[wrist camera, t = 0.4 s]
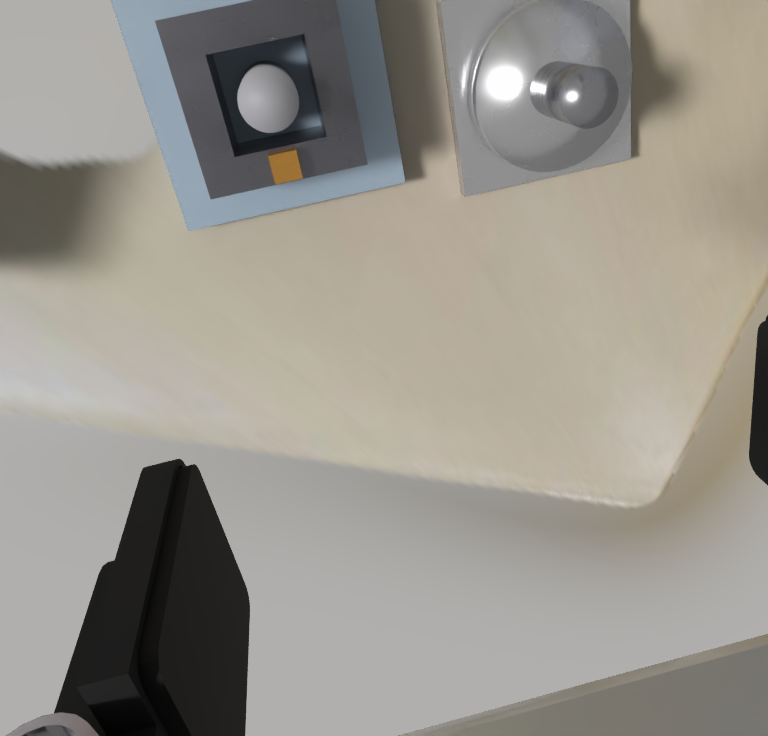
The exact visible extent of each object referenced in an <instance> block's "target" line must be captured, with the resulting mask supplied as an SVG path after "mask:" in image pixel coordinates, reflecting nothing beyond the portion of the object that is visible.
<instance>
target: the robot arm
mask: <svg viewBox="0 0 768 736" xmlns="http://www.w3.org/2000/svg"><path fill="white" fill-rule="evenodd" d="M751 420H752V421H751V434H750V449H749V459H750V463H751V466H752V468H753V470H754V472H755V473H756V475H757V476H758V477H759V478H760V479H762V480H763V481H764V482H765V483H766V484H767V485H768V316H767V317H766V321H764V322H762V323H761V324H760V326H759V328H758V334H757V349H756V363H755V378H754V392H753V405H752V419H751ZM249 618H250V603H249V596H248V592H247V588H246V585H245V583H244V580H243V578H242V575H241V573H240V570H239V568H238V565H237V563H236V560H235V558H234V555H233V553H232V550H231V548H230V545H229V543H228V540H227V538H226V536H225V533H224V530H223V528H222V525H221V523H220V521H219V518H218V515H217V513H216V510H215V508H214V505H213V503H212V501H211V498H210V496H209V493H208V491H207V488H206V486H205V483H204V481H203V478H202V476H201V473H200V471H199V469H198V467H197V466H196V465H195V464H193V465H189V466H186V465H185V464H184V462H183V461H182V460H181V459H176V460H172V461H168V462H164V463H160V464H156V465H152V466H148V467H145V468H143V470H142V472H141V474H140V478H139V481H138V484H137V488H136V491H135V494H134V498H133V501H132V504H131V508H130V511H129V515H128V518H127V521H126V525H125V528H124V531H123V534H122V538H121V541H120V544H119V548H118V551H117V554H116V558H115V561H111V562H108V563H106V564H105V565H104V566H103V567H102V569H101V571H100V573H99V575H98V578H97V582H96V585H95V588H94V591H93V594H92V597H91V600H90V603H89V606H88V610H87V613H86V616H85V619H84V622H83V625H82V628H81V631H80V634H79V637H78V640H77V644H76V647H75V650H74V653H73V656H72V659H71V662H70V665H69V669H68V671H67V675H66V678H65V681H64V684H63V687H62V690H61V693H60V696H59V700H58V702H57V706H56V709H55V712H54V714H50V715H44V716H41V717H38V718H36V719H34V720H32V721H30V722H27V723H25V724H23V725H21V726H19V727H18V728H17V729H15V730H14V731H12V732H11V733H9V734H8V735H6V736H245V723H246V698H247V671H248V646H249V620H250V619H249ZM399 736H768V634H766V635H762V636H758V637H755V638H751V639H747V640H744V641H740V642H736V643H733V644H729V645H725V646H722V647H718V648H715V649H711V650H707V651H703V652H699V653H696V654H692V655H689V656H685V657H681V658H677V659H674V660H670V661H667V662H663V663H659V664H655V665H652V666H648V667H645V668H641V669H638V670H634V671H630V672H626V673H623V674H619V675H616V676H612V677H608V678H605V679H601V680H597V681H593V682H590V683H586V684H582V685H579V686H575V687H572V688H568V689H564V690H561V691H557V692H554V693H550V694H547V695H543V696H539V697H536V698H532V699H529V700H525V701H522V702H518V703H514V704H511V705H507V706H504V707H500V708H497V709H493V710H489V711H485V712H482V713H479V714H475V715H471V716H467V717H464V718H460V719H457V720H453V721H450V722H446V723H442V724H439V725H435V726H431V727H428V728H424V729H421V730H417V731H414V732H410V733H406V734H403V735H399Z"/></svg>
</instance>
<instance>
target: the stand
mask: <svg viewBox="0 0 768 736" xmlns="http://www.w3.org/2000/svg"><path fill="white" fill-rule="evenodd" d="M246 1H251V0H111V3H112V6H113V9H114V12H115V15H116V18H117V21H118V24H119V27H120V30H121V33H122V36H123V39H124V42H125V45H126V47H127V51H128V53H129V56H130V59H131V62H132V65H133V68H134V71H135V74H136V77H137V80H138V83H139V86H140V89H141V92H142V95H143V98H144V101H145V104H146V107H147V110H148V113H149V116H150V119H151V122H152V125H153V128H154V131H155V134H156V137H157V140H158V143H159V146H160V149H161V152H162V154H163V157H164V160H165V163H166V166H167V169H168V172H169V175H170V178H171V181H172V184H173V187H174V190H175V193H176V196H177V199H178V202H179V205H180V208H181V211H182V214H183V217H184V220H185V223H186V226H187V229H188V231H192V230H196V229H201V228H205V227H210V226H214V225H219V224H223V223H227V222H232V221H236V220H241V219H245V218H250V217H254V216H258V215H263V214H267V213H272V212H276V211H281V210H285V209H290V208H294V207H298V206H303V205H307V204H312V203H316V202H321V201H325V200H329V199H334V198H338V197H343V196H347V195H352V194H356V193H360V192H365V191H369V190H374V189H378V188H383V187H387V186H391V185H396V184H400V183H405V177H404V171H403V165H402V159H401V153H400V147H399V141H398V135H397V130H396V124H395V118H394V112H393V106H392V100H391V94H390V88H389V82H388V76H387V70H386V64H385V58H384V52H383V46H382V40H381V34H380V28H379V22H378V16H377V10H376V4H375V0H336V1H337V7H338V12H339V17H340V22H341V27H342V33H343V38H344V43H345V48H346V53H347V59H348V64H349V69H350V74H351V79H352V85H353V90H354V95H355V100H356V105H357V111H358V116H359V121H360V126H361V131H362V137H363V142H364V147H365V152H366V157H367V163H368V165H363V166H359V167H354V168H350V169H345V170H341V171H336V172H332V173H327V174H323V175H319V176H314V177H310V178H305V179H301V180H296V181H292V182H287V183H283V184H278V185H274V186H269V187H265V188H260V189H256V190H251V191H247V192H243V193H238V194H234V195H229V196H225V197H220V198H216V199H210V196H209V193H208V190H207V186H206V183H205V180H204V177H203V174H202V170H201V167H200V164H199V161H198V158H197V154H196V151H195V148H194V145H193V142H192V138H191V135H190V132H189V129H188V126H187V122H186V119H185V116H184V113H183V110H182V106H181V103H180V100H179V97H178V94H177V90H176V87H175V84H174V81H173V78H172V74H171V71H170V68H169V65H168V62H167V58H166V55H165V52H164V49H163V46H162V42H161V39H160V36H159V33H158V30H157V26H156V23H155V21H156V20H161V19H166V18H170V17H175V16H180V15H185V14H189V13H194V12H199V11H204V10H208V9H213V8H218V7H223V6H227V5H232V4H237V3H242V2H246ZM213 57H214V60H215V64H216V67H217V71H218V75H219V78H220V82H221V85H222V89H223V92H224V96H225V99H226V103H227V107H228V110H229V114H230V117H231V121H232V124H233V128H234V131H235V135H236V139H237V142H238V143H242V142H247V141H251V140H256V139H260V138H265V137H269V136H274V135H278V134H283V133H288V132H292V131H297V130H301V129H306V128H310V127H315V126H319V125H321V122H320V118H319V113H318V109H317V104H316V100H315V95H314V91H313V86H312V81H311V77H310V72H309V68H308V63H307V59H306V54H305V50H304V45H303V40H302V36H301V35H297V36H292V37H287V38H282V39H278V40H273V41H268V42H264V43H259V44H254V45H250V46H245V47H240V48H236V49H231V50H226V51H222V52H217V53H213Z"/></svg>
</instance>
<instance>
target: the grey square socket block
mask: <svg viewBox="0 0 768 736" xmlns="http://www.w3.org/2000/svg"><path fill="white" fill-rule="evenodd" d="M155 23H156V26H157V30H158V33H159V36H160V39H161V42H162V46H163V49H164V52H165V55H166V58H167V62H168V65H169V68H170V71H171V74H172V78H173V81H174V84H175V87H176V90H177V94H178V97H179V100H180V103H181V106H182V110H183V113H184V116H185V119H186V122H187V126H188V129H189V132H190V135H191V138H192V142H193V145H194V148H195V151H196V154H197V158H198V161H199V164H200V167H201V170H202V174H203V177H204V180H205V183H206V186H207V190H208V193H209V196H210V199H216V198H220V197H225V196H229V195H234V194H238V193H243V192H247V191H251V190H256V189H260V188H265V187H269V186H274V185H278V184H283V183H287V182H292V181H296V180H301V179H305V178H310V177H314V176H319V175H323V174H327V173H332V172H336V171H341V170H345V169H350V168H354V167H359V166H363V165H368V163H367V157H366V152H365V147H364V142H363V137H362V131H361V126H360V121H359V116H358V111H357V105H356V100H355V95H354V90H353V85H352V79H351V74H350V69H349V64H348V59H347V53H346V48H345V43H344V38H343V33H342V27H341V22H340V17H339V12H338V7H337V1H336V0H251V1H246V2H242V3H237V4H232V5H227V6H223V7H218V8H213V9H208V10H204V11H199V12H194V13H189V14H185V15H180V16H175V17H170V18H166V19H161V20H156V21H155ZM297 35H301V36H302V40H303V45H304V50H305V54H306V59H307V63H308V68H309V72H310V77H311V81H312V86H313V91H314V95H315V100H316V104H317V109H318V113H319V118H320V122H321V125H319V126H315V127H310V128H306V129H301V130H297V131H292V132H288V133H283V134H278V135H274V136H269V137H265V138H260V139H256V140H251V141H247V142H242V143H238V142H237V139H236V135H235V131H234V128H233V124H232V121H231V117H230V114H229V110H228V107H227V103H226V99H225V96H224V92H223V89H222V85H221V82H220V78H219V75H218V71H217V67H216V64H215V60H214V57H213V53H217V52H222V51H226V50H231V49H236V48H240V47H245V46H250V45H254V44H259V43H264V42H268V41H273V40H278V39H282V38H287V37H292V36H297Z"/></svg>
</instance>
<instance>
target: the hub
mask: <svg viewBox="0 0 768 736" xmlns="http://www.w3.org/2000/svg"><path fill="white" fill-rule="evenodd" d="M437 9H438V17H439V25H440V32H441V40H442V48H443V56H444V64H445V71H446V79H447V87H448V95H449V103H450V110H451V118H452V126H453V134H454V142H455V149H456V157H457V165H458V173H459V181H460V188H461V193H462V194H463V195H464V196H465V197H466V196H470V195H475V194H479V193H483V192H488V191H492V190H497V189H501V188H505V187H510V186H514V185H519V184H523V183H527V182H532V181H536V180H541V179H545V178H549V177H554V176H558V175H563V174H567V173H571V172H576V171H580V170H584V169H589V168H593V167H598V166H602V165H606V164H611V163H615V162H620V161H624V160H628V159H631V86H632V59H631V48H630V0H445V1H440V2H437Z"/></svg>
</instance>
